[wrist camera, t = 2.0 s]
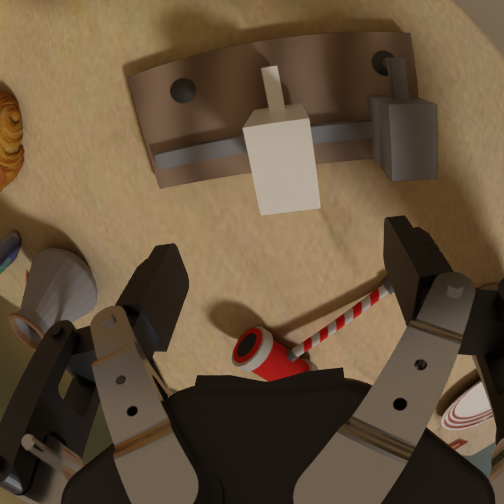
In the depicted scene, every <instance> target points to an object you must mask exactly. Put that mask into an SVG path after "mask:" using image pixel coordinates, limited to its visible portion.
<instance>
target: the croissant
mask: <svg viewBox="0 0 504 504" xmlns="http://www.w3.org/2000/svg"><path fill="white" fill-rule="evenodd" d="M22 129H23V126H22V118H21V115H20V110H19V106H18V103H17V102H16V101H15V99H13V98H12V97H11V96H10V95H9V94H6V93H5V92H2V91H0V192H1V190H2V189H3V188H4V187H6V186H7V185H8V184H9V183H10V182H12V181H13V180H14V179H15V178H16V176H17V174H18V172H19V170H20V169H21V167H22V165H23V162H24V156H23V154H24V149H23V146H22V145H21V144H20V143H21V141H22V137H23V134H22Z"/></svg>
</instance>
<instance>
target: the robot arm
mask: <svg viewBox="0 0 504 504" xmlns="http://www.w3.org/2000/svg"><path fill="white" fill-rule="evenodd" d="M383 257H384V265H385V269H386V271H387V274H388V277H389V279H390V282H391V284H392V287H393V289H394V292H395V295H396V297H397V300H398V303H399V306H400V308H401V311H402V314H403V317H404V320H405V322H406V325H407V328H406V330H405V332H404V334H403V335H402V337H401V339H400V341H399V343H398V344H397V346H396V348H395V350H394V351H393V353H392V355H391V357H390V358H389V360H388V362H387V363H386V365H385V367H384V368H383V370H382V372H381V373H380V375H379V376H378V378H377V380H376V381H375V383H374V384H373V386H372V385H370V384H368V383H365V382H362V381H359V380H354V379H349V378H344V372H343V367H342V368H334V369H324V370H314V371H305V372H302V373H298V374H295V375H292V376H288V377H284V378H281V379H277V380H274V381H269V382H263V381H258V380H252V379H247V378H242V377H237V376H232V375H197V379H196V383H195V386H192V387H189V388H186V389H183V390H181V391H178V392H176V393H174V394H173V395H172V393H171V391H170V389H169V387H168V385H167V383H166V381H165V379H164V377H163V375H162V373H161V371H160V369H159V367H158V365H157V363H156V361H155V360H154V358H153V354H154V352H155V351H162V352H167V349H168V346H169V343H170V340H171V337H172V334H173V331H174V328H175V326H176V323H177V320H178V317H179V314H180V312H181V309H182V306H183V303H184V300H185V298H186V295H187V292H188V289H189V278H188V274H187V272H186V269H185V266H184V264H183V261H182V258H181V256H180V253H179V250H178V248H177V246H176V245H175V244H174V243H172V244H165V245H158V246H155V248H154V249H153V251H152V253H151V254H150V256H149V258H148V259H146V260H145V261H144V262H142V263H141V264H140V265H139V266H138V267H137V268H136V270H135V272H134V273H133V275H132V277H131V279H130V280H129V282H128V284H127V285H126V287H125V289H124V291H123V292H122V294H121V296H120V298H119V299H118V301H117V303H116V305H115V306H110V307H107V308H105V309H103V310H101V311H100V312H98V313H97V314H96V315H95V316H94V318H93V319H92V321H91V324H90V326H87V327H84V328H80V329H77V330H76V328H75V327H74V325H73V324H72V322H71V321H69V320H62V321H59V322H57V323H55V324H54V325H52V326H51V327H50V328H49V329H48V330H47V332H46V333H45V335H44V337H43V339H42V340H41V342H40V344H39V346H38V347H37V349H36V351H35V353H34V355H33V357H32V358H31V360H30V362H29V364H28V366H27V368H26V370H25V372H24V373H23V376H22V377H21V380H20V381H19V383H18V385H17V388H16V390H15V392H14V394H13V396H12V398H11V400H10V402H9V405H8V406H7V409H6V411H5V413H4V415H3V418H2V420H1V422H0V487H2V488H4V489H5V490H7V491H9V492H10V493H11V494H12V495H14V496H16V497H18V498H20V499H22V500H24V501H26V502H28V503H30V504H504V279H503V280H501V281H500V283H499V285H497V284H489V285H486V286H483V287H481V288H479V289H476V288H475V285H474V284H473V282H472V281H471V280H470V279H469V278H468V277H466V276H465V275H463V274H460V273H456V272H454V271H453V270H452V268H451V266H450V265H449V263H448V262H447V260H446V259H445V257H444V255H443V254H442V252H441V251H439V248H438V246H437V245H436V244H435V242H434V240H433V239H432V237H431V236H430V235H429V233H427V232H426V231H424V230H423V229H421V228H420V227H415V228H413V227H412V225H411V224H410V222H409V221H408V219H407V218H406V216H404V215H403V216H394V217H386V218H385V221H384V249H383ZM457 354H463V355H472V358H473V360H474V363H475V365H476V368H477V371H478V373H479V376H480V378H481V381H482V384H483V387H484V389H485V392H486V395H487V398H488V401H489V404H490V407H491V410H492V413H493V416H494V419H495V423H496V447H495V449H494V451H493V454H492V459H491V473H490V476H489V478H487V477H486V475H485V474H484V473H483V472H481V471H480V470H479V469H478V468H477V467H475V466H474V465H472V464H471V463H470V462H469V461H468V460H466V459H465V458H464V457H463V456H461V455H460V454H459V453H458V452H456V451H455V450H454V449H453V448H451V447H450V446H449V445H448V444H446V443H445V442H444V441H443V440H442V439H440V438H439V437H438V436H437V435H435V434H434V433H433V432H432V431H430V430H429V429H428V428H427V427H426V426H427V424H428V422H429V420H430V418H431V416H432V414H433V412H434V410H435V408H436V405H437V403H438V401H439V399H440V397H441V394H442V392H443V390H444V387H445V385H446V383H447V380H448V378H449V375H450V373H451V370H452V367H453V365H454V362H455V360H456V357H457ZM65 369H66V370H67V371H68V372H69V374H70V375H71V376H72V377H73V379H72V381H71V383H70V386H69V388H68V391H67V393H66V395H65V398H64V400H63V399H62V398H61V397H60V395H59V392H58V385H59V382H60V380H61V378H62V376H63V374H64V371H65ZM100 401H101V404H102V408H103V411H104V415H105V418H106V421H107V425H108V427H109V431H110V434H111V437H112V440H113V444H111V445H110V446H109V447H108V448H106V449H105V450H104V451H103V452H101V453H100V454H99V455H98V456H96V457H95V458H94V459H93V460H91V461H90V462H89V463H88V464H86V465H85V466H84V467H83V464H82V456H83V453H84V450H85V446H86V443H87V440H88V437H89V433H90V430H91V427H92V424H93V421H94V418H95V415H96V412H97V409H98V406H99V403H100Z"/></svg>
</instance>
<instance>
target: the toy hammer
mask: <svg viewBox="0 0 504 504" xmlns="http://www.w3.org/2000/svg"><path fill="white" fill-rule="evenodd" d="M393 292H394V289H393V287H392V284H391V282H390V279H389V277H387V278H386V279H385V280H383V281H382V285H381V286H380V287H378V288H377V289H376V290H375V291H373V292H372V293H371V294H369V295H368V296H367V297H365V298H364V299H363V300H361V301H360V302H359V303H357V304H356V305H355V306H353V307H352V308H351V309H349V310H348V311H347V312H345V313H344V314H342V315H341V316H340V317H338V318H337V319H336V320H334V321H333V322H331V323H330V324H328V325H327V326H326V327H324V328H323V329H321V330H320V331H318V332H317V333H316V334H314V335H313V336H311V337H310V338H308V339H307V340H305V341H304V342H302V343H301V344H299V345H298V346H296V347H295V348H291V349H286V348H285V347H283V346H282V345H281V344H279V343H278V342H276V341H275V340H273V336H272V334H271V333H270V332H269V331H267V330H266V329H265V328H263V327H262V326H257V327H255V328H252V329H250V330H248V331H247V332H246V333H244V334H243V335H242V336H241V338H240V339H239V340H238V342H237V344H236V346H235V348H234V350H233V354H232V362H233V364H234V365H235V366H237V367H238V368H240V369H241V370H243V371H246V372H248V371H252V372H254V373H255V374H257V375H259V376H260V377H262V378H264V379H265V380H267V381H274V380H277V379H281V378H284V377H288V376H292V375H295V374H298V373H302V372H305V371H314V370H318V368H317V366H316V365H315V364H314V363H313V362H311V361H310V360H308V359H306V358H302V359H301V358H299V356H300V355H301V354H303V353H304V352H306V351H307V350H309V349H310V348H312V347H314V346H315V345H317V344H318V343H320V342H321V341H323V340H324V339H325V338H327V337H328V336H330V335H331V334H333V333H334V332H336V331H337V330H339V329H340V328H341V327H343V326H344V325H346V324H347V323H349V322H350V321H351V320H353V319H354V318H356V317H357V316H358V315H360V314H361V313H362V312H364V311H365V310H367V309H368V308H369V307H371V306H372V305H373V304H375V303H376V302H377V301H379V300H380V299H381V298H382V297H384V296H385V295H386V294H388V293H390V294H392V293H393Z"/></svg>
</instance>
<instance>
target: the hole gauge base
mask: <svg viewBox="0 0 504 504" xmlns="http://www.w3.org/2000/svg"><path fill="white" fill-rule="evenodd" d="M271 66H277V67H278V72H279V77H280V83H281V88H282V93H283V99H284V104H285V105H291V104H298V103H302V105H303V107H304V109H305V111H306V113H307V115H308V117H309V121H310V127H311V134H312V141H313V149H314V156H315V164H320V163H330V162H340V161H350V160H361V159H374V161H375V162H376V163H377V164H378V165H379V166H380V168H381V169H382V170H383V171H384V172H385V174H386V175H387V176H388V177H389V179H390V180H391V181H392V182H396V181H409V180H424V179H437V167H438V121H437V104H434V103H432V102H429V101H426V100H423V99H420V98H418V89H417V79H416V69H415V61H414V54H413V47H412V40H411V34H410V33H403V32H341V33H324V34H312V35H302V36H293V37H285V38H278V39H271V40H265V41H259V42H253V43H247V44H242V45H237V46H232V47H228V48H223V49H219V50H214V51H210V52H206V53H202V54H198V55H195V56H191V57H187V58H184V59H180V60H177V61H173V62H170V63H167V64H164V65H161V66H158V67H154V68H151V69H149V70H146V71H143V72H140V73H137V74H134V75H132V76H129V77H128V81H129V85H130V89H131V93H132V96H133V100H134V104H135V108H136V111H137V115H138V118H139V122H140V125H141V129H142V132H143V136H144V139H145V143H146V146H147V149H148V153H149V156H150V159H151V162H152V166H153V169H154V172H155V175H156V178H157V181H158V185H159V188H160V189H162V188H167V187H172V186H177V185H182V184H187V183H192V182H198V181H203V180H209V179H215V178H220V177H226V176H232V175H239V174H245V173H251V172H252V171H251V166H250V161H249V157H248V152H247V147H246V142H245V138H244V133H243V126H244V125H245V123H246V122H247V120H248V119H249V117H250V115H251V114H252V112H253V111H254V110H257V109H263V108H269V106H268V101H267V96H266V91H265V86H264V81H263V76H262V71H261V68H264V67H271Z"/></svg>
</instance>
